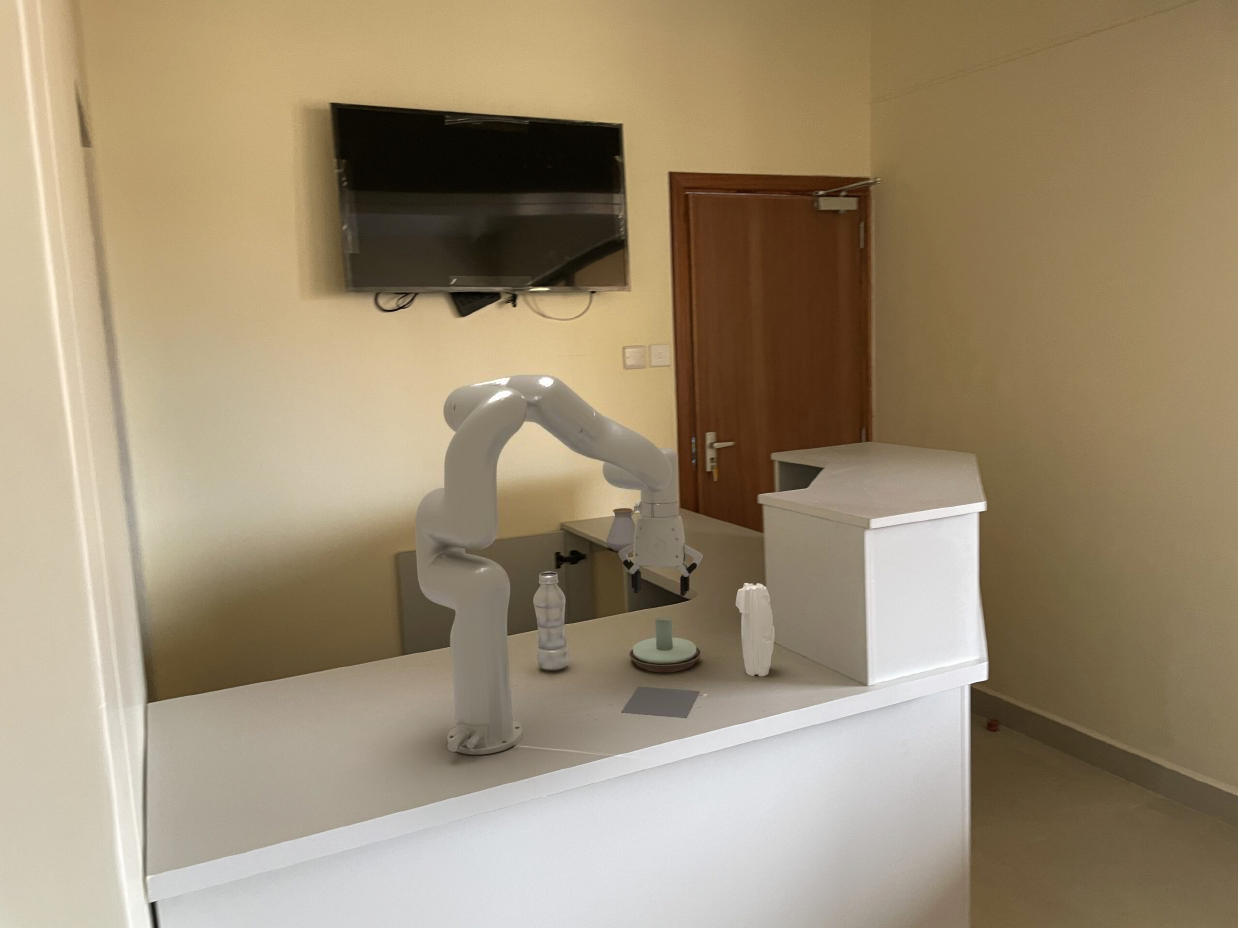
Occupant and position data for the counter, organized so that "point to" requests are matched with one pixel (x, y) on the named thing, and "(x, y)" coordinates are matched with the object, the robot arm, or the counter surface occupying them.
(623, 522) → the coffee pot
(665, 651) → the lid
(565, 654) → the plastic bottle
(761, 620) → the lumpy white ridged column
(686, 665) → the saucer
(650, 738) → the counter surface
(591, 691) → the counter surface
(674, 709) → the mat
